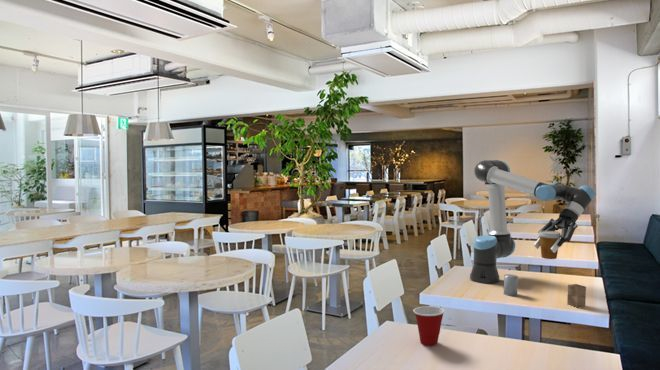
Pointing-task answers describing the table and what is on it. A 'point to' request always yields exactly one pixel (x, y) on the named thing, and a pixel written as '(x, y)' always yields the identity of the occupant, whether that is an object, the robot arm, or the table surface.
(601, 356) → the table surface
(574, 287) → the walnut block
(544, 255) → the disposable coffee cup
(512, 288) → the grey rounded cylinder
